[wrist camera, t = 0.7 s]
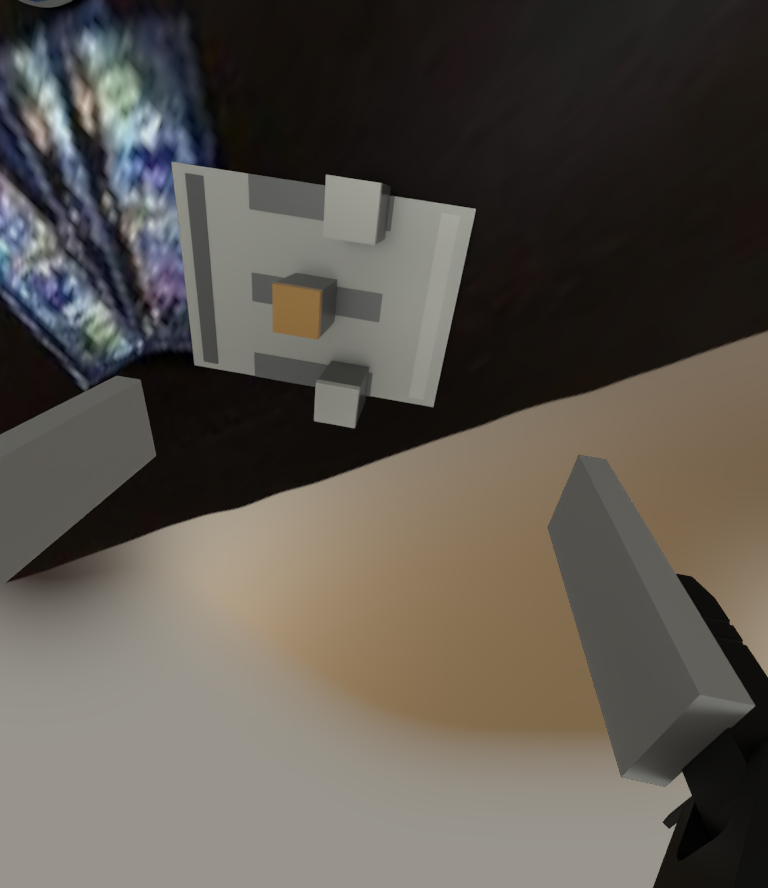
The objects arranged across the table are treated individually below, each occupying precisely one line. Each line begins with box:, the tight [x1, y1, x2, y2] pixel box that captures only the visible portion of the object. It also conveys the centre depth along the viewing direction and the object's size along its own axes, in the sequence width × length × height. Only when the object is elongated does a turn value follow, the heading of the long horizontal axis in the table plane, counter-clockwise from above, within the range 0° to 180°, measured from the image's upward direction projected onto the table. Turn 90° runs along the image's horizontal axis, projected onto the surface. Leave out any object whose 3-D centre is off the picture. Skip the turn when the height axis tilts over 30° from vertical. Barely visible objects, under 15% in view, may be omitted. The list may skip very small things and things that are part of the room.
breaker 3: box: [314, 361, 369, 428], centre depth 31 cm, size 3×3×5 cm
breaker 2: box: [323, 175, 391, 245], centre depth 24 cm, size 3×3×5 cm
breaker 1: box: [272, 273, 337, 340], centre depth 28 cm, size 3×3×5 cm
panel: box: [172, 162, 476, 407], centre depth 31 cm, size 20×14×2 cm
